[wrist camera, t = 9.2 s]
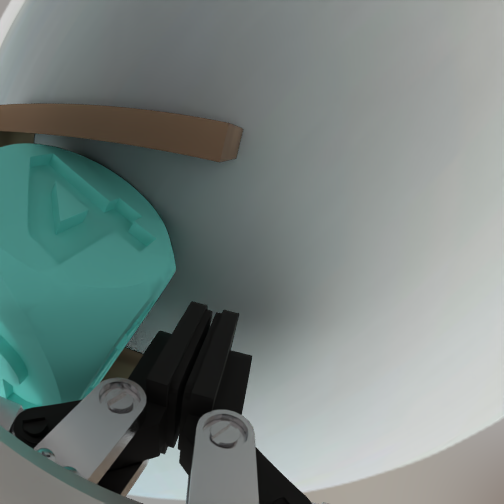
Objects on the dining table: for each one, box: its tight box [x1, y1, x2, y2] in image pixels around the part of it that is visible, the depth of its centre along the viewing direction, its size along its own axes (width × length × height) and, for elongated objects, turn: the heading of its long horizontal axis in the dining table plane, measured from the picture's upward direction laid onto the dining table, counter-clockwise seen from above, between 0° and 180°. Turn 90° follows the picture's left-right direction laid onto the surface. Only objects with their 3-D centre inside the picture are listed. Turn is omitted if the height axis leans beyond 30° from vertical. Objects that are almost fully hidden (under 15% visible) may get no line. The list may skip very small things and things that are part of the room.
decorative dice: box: [0, 143, 176, 409], centre depth 10 cm, size 8×8×8 cm
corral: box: [0, 104, 243, 384], centre depth 12 cm, size 13×12×3 cm
